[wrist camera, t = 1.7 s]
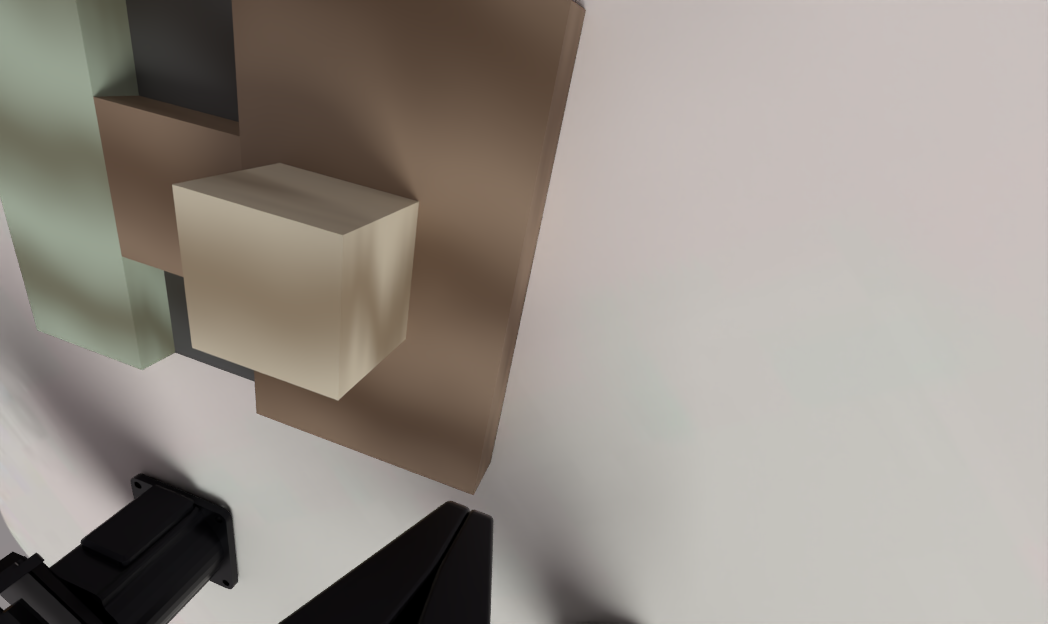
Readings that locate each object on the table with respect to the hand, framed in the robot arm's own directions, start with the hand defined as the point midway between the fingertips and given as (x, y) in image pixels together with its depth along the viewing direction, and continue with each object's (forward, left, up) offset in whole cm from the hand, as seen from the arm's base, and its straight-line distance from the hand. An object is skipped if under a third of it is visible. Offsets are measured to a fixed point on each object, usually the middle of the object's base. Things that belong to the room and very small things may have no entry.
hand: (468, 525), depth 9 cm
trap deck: (0, +13, -10) cm, 17 cm away
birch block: (0, +8, -8) cm, 12 cm away
